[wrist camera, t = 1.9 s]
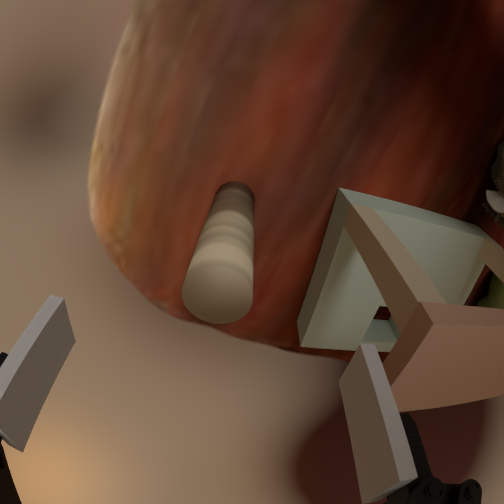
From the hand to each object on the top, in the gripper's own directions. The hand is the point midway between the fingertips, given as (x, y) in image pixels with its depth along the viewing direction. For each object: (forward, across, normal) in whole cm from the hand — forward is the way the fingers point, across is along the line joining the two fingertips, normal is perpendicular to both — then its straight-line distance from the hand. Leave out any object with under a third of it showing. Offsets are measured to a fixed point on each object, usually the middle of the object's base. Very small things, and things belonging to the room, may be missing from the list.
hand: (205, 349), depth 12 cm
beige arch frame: (+13, +18, +1) cm, 23 cm away
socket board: (+17, +18, -5) cm, 26 cm away
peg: (+17, 0, 0) cm, 17 cm away
